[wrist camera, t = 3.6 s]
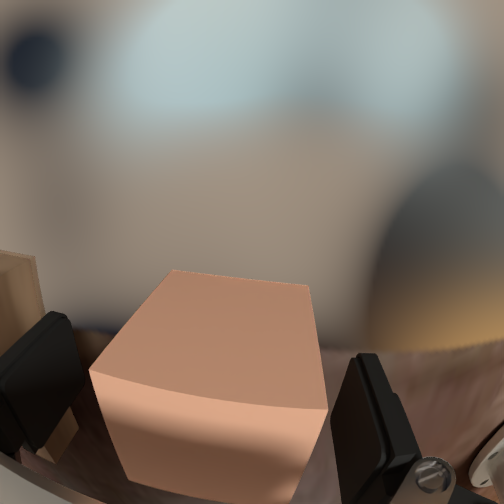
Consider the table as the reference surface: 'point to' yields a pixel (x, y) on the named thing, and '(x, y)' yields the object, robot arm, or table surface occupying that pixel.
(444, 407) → the table surface
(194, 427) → the block
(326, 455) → the table surface
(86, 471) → the table surface
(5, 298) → the base
